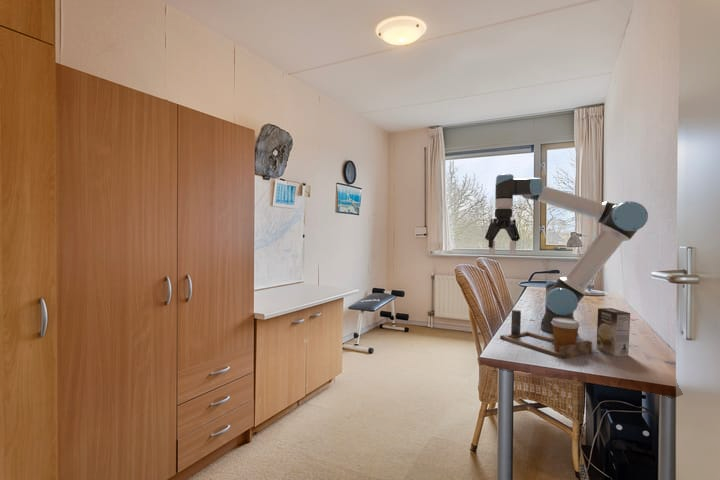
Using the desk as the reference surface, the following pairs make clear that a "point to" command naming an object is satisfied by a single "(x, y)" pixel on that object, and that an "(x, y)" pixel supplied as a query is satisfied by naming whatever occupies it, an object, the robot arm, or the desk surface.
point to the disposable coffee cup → (564, 331)
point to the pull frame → (564, 350)
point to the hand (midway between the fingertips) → (502, 254)
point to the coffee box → (613, 331)
